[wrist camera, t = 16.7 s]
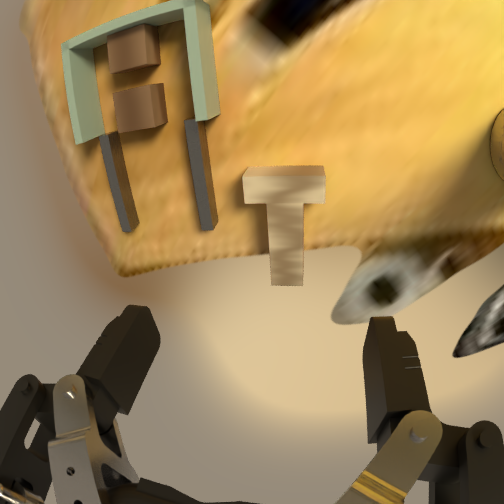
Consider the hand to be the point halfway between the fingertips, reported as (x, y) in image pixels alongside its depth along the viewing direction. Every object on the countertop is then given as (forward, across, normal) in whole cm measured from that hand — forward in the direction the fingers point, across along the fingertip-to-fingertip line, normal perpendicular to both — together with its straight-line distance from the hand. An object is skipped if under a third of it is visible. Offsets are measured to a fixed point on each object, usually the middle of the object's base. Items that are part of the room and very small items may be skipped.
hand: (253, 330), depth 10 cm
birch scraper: (+19, 0, 0) cm, 19 cm away
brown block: (+20, +13, -13) cm, 27 cm away
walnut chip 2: (+20, +13, -7) cm, 25 cm away
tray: (+20, +13, -11) cm, 26 cm away
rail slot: (+20, +13, 0) cm, 24 cm away
